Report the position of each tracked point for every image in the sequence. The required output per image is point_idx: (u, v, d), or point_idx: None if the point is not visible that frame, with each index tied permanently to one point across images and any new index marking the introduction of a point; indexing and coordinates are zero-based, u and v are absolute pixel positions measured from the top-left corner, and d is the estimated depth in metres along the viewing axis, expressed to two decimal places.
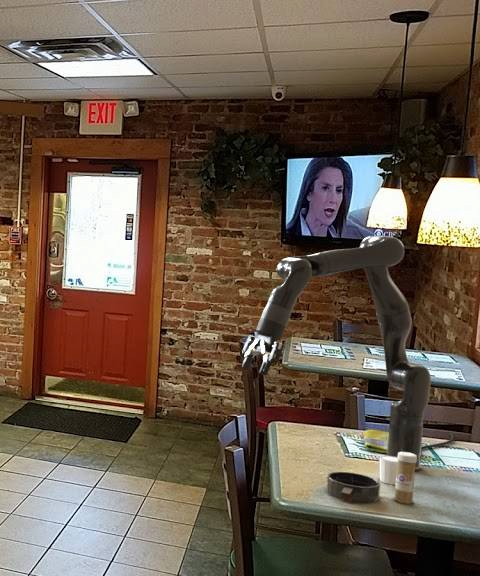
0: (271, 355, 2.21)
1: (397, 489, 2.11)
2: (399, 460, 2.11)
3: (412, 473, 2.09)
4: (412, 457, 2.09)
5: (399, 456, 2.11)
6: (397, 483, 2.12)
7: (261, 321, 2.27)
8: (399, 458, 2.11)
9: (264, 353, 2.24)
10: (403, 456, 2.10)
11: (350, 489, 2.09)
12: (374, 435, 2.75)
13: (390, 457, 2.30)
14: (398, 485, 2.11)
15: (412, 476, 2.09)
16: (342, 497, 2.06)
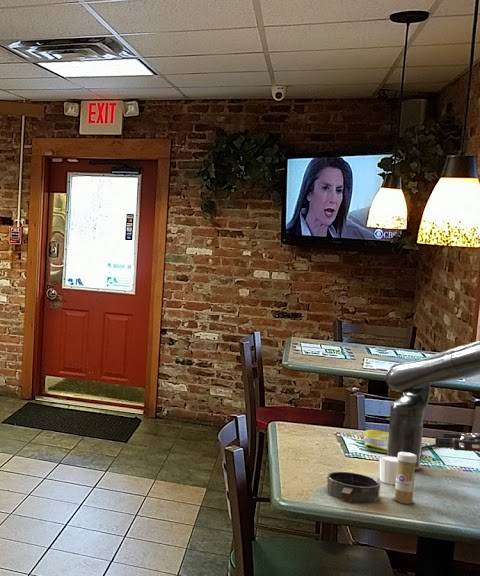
0: None
1: (397, 489, 2.11)
2: (399, 460, 2.11)
3: (412, 473, 2.09)
4: (412, 457, 2.09)
5: (399, 456, 2.11)
6: (397, 483, 2.12)
7: None
8: (399, 458, 2.11)
9: None
10: (403, 456, 2.10)
11: (350, 489, 2.09)
12: (374, 435, 2.75)
13: (390, 457, 2.30)
14: (398, 485, 2.11)
15: (412, 476, 2.09)
16: (342, 497, 2.06)
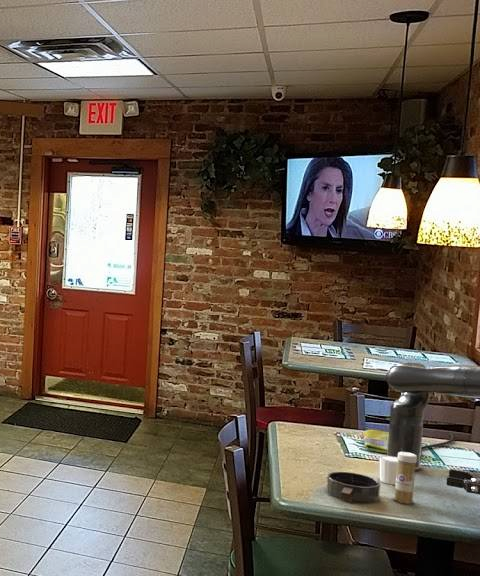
0: None
1: (397, 489, 2.11)
2: (399, 460, 2.11)
3: (412, 473, 2.09)
4: (412, 457, 2.09)
5: (399, 456, 2.11)
6: (397, 483, 2.12)
7: None
8: (399, 458, 2.11)
9: None
10: (403, 456, 2.10)
11: (350, 489, 2.09)
12: (374, 435, 2.75)
13: (390, 457, 2.30)
14: (398, 485, 2.11)
15: (412, 476, 2.09)
16: (342, 497, 2.06)
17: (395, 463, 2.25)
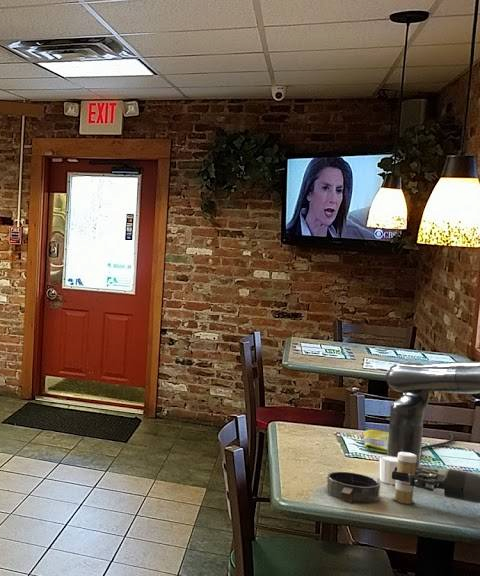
0: None
1: (397, 489, 2.11)
2: (399, 460, 2.11)
3: (412, 473, 2.09)
4: (412, 457, 2.09)
5: (399, 456, 2.11)
6: (397, 483, 2.12)
7: None
8: (399, 458, 2.11)
9: None
10: (403, 456, 2.10)
11: (350, 489, 2.09)
12: (374, 435, 2.75)
13: (390, 457, 2.30)
14: (398, 485, 2.11)
15: None
16: (342, 497, 2.06)
17: (395, 463, 2.25)
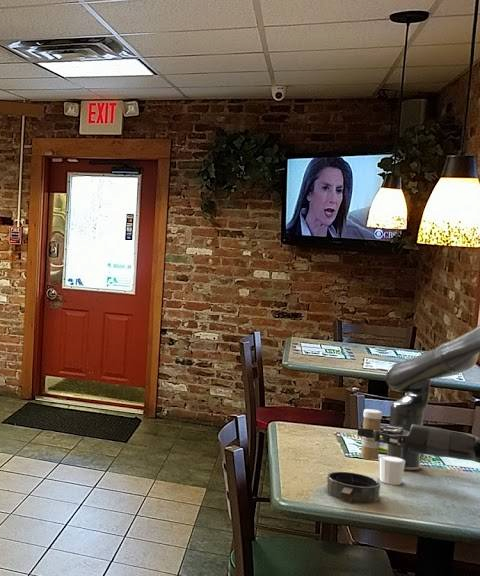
0: None
1: (363, 446, 2.13)
2: (365, 417, 2.13)
3: (377, 429, 2.11)
4: (378, 413, 2.11)
5: (365, 413, 2.13)
6: (363, 440, 2.13)
7: None
8: (365, 415, 2.13)
9: None
10: (368, 413, 2.11)
11: (350, 489, 2.09)
12: None
13: (390, 457, 2.30)
14: (364, 442, 2.13)
15: None
16: (342, 497, 2.06)
17: (395, 463, 2.25)
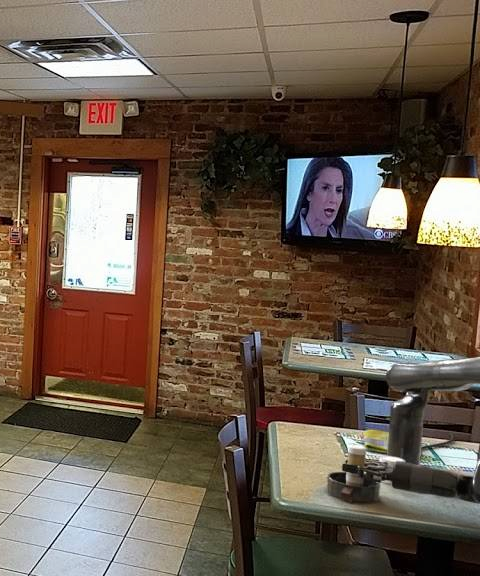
0: None
1: (347, 481, 2.15)
2: (349, 452, 2.14)
3: (362, 465, 2.13)
4: (362, 450, 2.12)
5: (349, 449, 2.14)
6: (347, 475, 2.15)
7: None
8: (349, 450, 2.14)
9: None
10: (353, 448, 2.13)
11: (350, 489, 2.09)
12: (374, 435, 2.75)
13: (390, 457, 2.30)
14: (349, 477, 2.15)
15: None
16: (342, 497, 2.06)
17: None
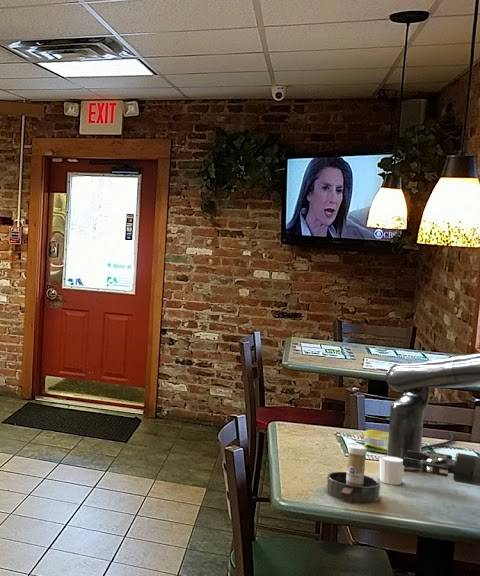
0: None
1: (347, 481, 2.15)
2: (349, 453, 2.14)
3: (362, 465, 2.13)
4: (362, 450, 2.12)
5: (349, 449, 2.14)
6: (347, 475, 2.15)
7: None
8: (349, 451, 2.14)
9: None
10: (353, 448, 2.13)
11: (350, 489, 2.09)
12: (374, 435, 2.75)
13: (390, 457, 2.30)
14: (349, 477, 2.15)
15: (362, 468, 2.13)
16: (342, 497, 2.06)
17: (395, 463, 2.25)
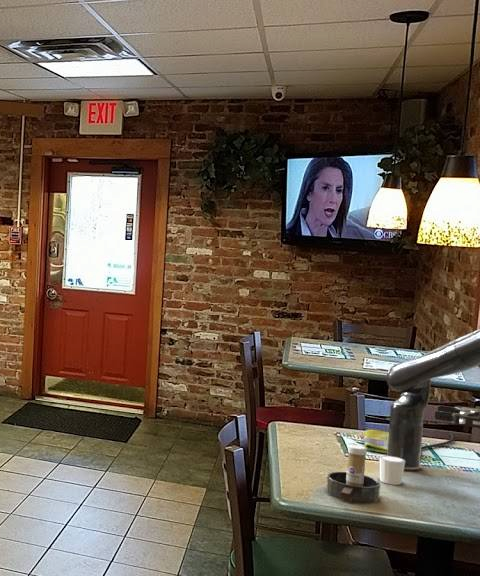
0: None
1: (347, 481, 2.15)
2: (349, 453, 2.14)
3: (362, 465, 2.13)
4: (362, 450, 2.12)
5: (349, 449, 2.14)
6: (347, 475, 2.15)
7: None
8: (349, 451, 2.14)
9: None
10: (353, 448, 2.13)
11: (350, 489, 2.09)
12: (374, 435, 2.75)
13: (390, 457, 2.30)
14: (349, 477, 2.15)
15: (362, 468, 2.13)
16: (342, 497, 2.06)
17: (395, 463, 2.25)
